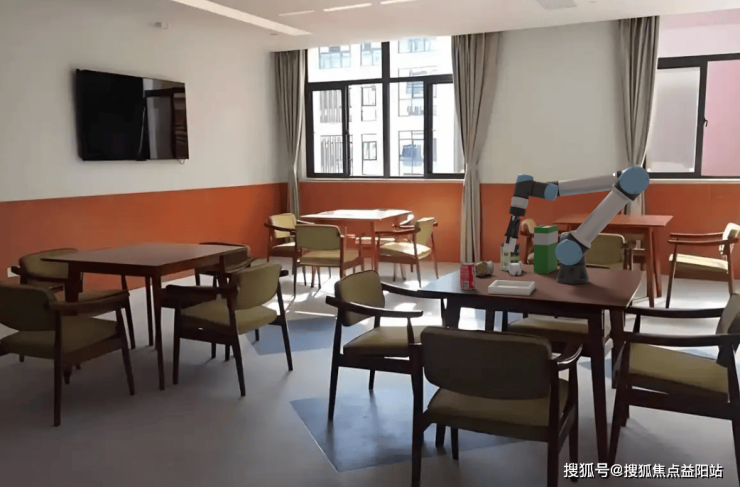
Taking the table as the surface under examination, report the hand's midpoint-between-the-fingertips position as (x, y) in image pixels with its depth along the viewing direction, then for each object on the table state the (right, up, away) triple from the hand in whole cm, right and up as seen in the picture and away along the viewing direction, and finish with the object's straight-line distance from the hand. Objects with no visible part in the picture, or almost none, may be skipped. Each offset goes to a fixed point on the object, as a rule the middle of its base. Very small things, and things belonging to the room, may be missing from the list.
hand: (508, 251), depth 311 cm
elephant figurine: (+10, -13, +32) cm, 35 cm away
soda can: (-20, -18, -6) cm, 27 cm away
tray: (-1, -18, -12) cm, 22 cm away
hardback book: (+29, -11, +41) cm, 51 cm away
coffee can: (+11, -11, +48) cm, 51 cm away
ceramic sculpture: (-7, -13, +30) cm, 33 cm away
